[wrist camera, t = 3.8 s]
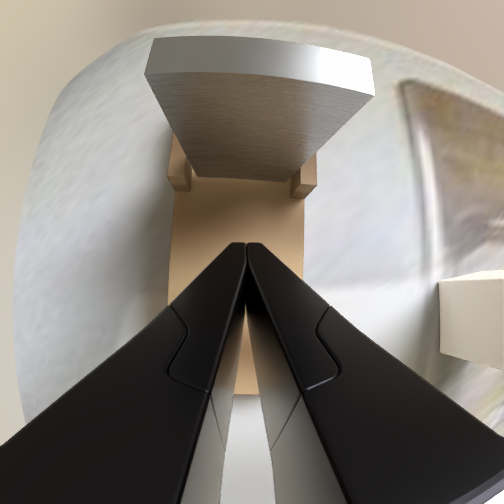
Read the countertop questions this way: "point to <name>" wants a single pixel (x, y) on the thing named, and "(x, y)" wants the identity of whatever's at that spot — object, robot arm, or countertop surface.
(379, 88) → the countertop surface
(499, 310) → the milk
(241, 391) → the body
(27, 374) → the countertop surface
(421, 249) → the countertop surface
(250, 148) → the lever cap
